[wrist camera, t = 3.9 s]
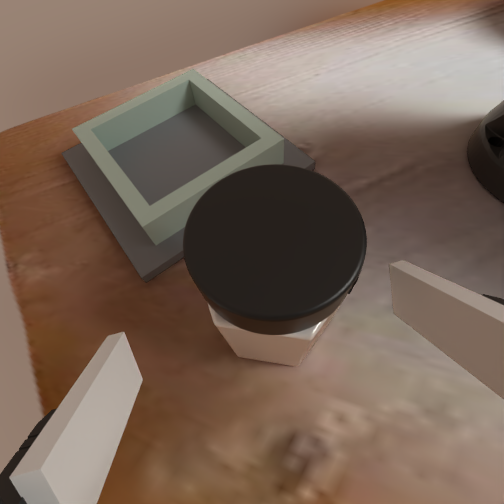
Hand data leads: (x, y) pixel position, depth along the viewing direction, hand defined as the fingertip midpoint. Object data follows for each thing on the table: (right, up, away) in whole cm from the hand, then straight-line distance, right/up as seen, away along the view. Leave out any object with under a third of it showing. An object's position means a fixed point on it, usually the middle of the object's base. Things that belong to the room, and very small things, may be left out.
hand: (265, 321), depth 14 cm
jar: (+1, -1, +9) cm, 10 cm away
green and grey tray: (-8, +13, +18) cm, 24 cm away
